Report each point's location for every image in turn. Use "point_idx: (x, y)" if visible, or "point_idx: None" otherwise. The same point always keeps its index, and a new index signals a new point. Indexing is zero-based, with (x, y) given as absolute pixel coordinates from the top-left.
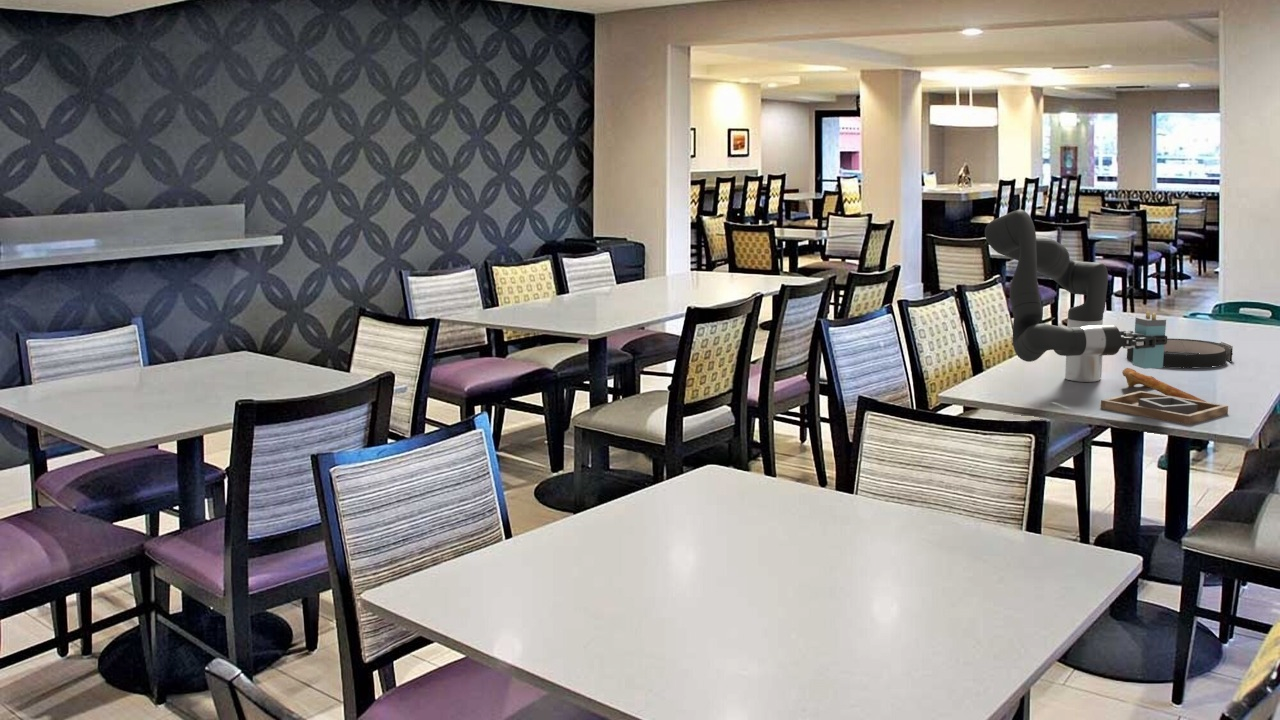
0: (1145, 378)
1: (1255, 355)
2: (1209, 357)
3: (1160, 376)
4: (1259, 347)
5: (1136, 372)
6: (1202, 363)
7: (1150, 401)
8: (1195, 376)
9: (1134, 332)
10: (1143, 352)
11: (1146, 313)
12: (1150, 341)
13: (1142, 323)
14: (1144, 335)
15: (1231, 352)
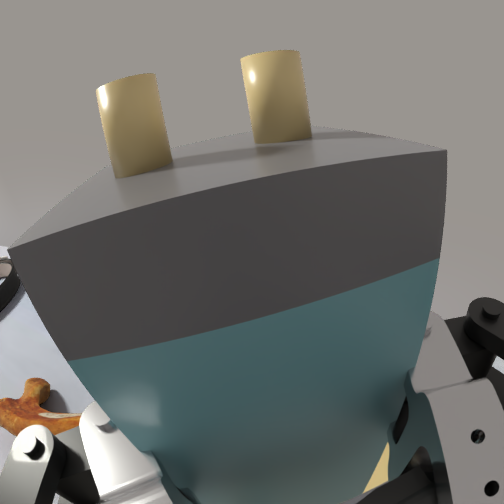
0: None
1: None
2: (10, 280)
3: (6, 350)
4: (4, 251)
5: (46, 426)
6: (10, 291)
7: (360, 499)
8: (33, 314)
9: (135, 451)
10: (358, 469)
11: (125, 100)
12: (489, 361)
13: (312, 266)
14: (418, 384)
15: (12, 262)
